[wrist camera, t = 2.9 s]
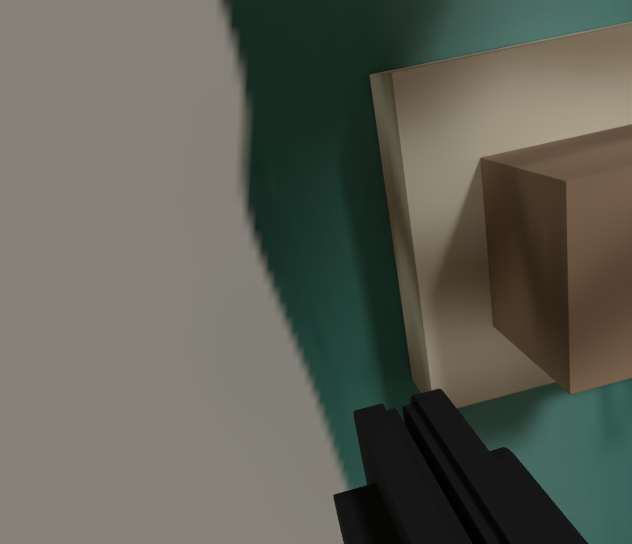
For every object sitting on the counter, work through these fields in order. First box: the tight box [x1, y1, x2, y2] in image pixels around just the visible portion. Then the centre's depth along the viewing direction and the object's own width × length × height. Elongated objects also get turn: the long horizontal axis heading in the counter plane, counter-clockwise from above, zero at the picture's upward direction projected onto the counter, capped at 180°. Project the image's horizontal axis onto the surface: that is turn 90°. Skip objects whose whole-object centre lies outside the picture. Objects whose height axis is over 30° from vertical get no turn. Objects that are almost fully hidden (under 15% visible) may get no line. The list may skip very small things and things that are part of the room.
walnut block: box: [480, 124, 632, 394], centre depth 16 cm, size 6×6×4 cm
